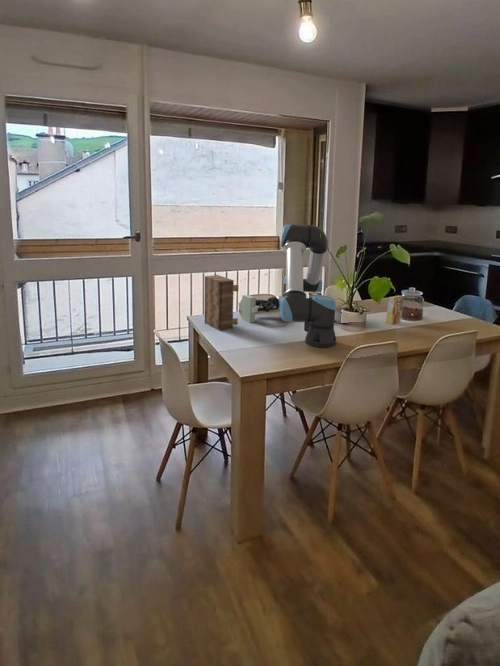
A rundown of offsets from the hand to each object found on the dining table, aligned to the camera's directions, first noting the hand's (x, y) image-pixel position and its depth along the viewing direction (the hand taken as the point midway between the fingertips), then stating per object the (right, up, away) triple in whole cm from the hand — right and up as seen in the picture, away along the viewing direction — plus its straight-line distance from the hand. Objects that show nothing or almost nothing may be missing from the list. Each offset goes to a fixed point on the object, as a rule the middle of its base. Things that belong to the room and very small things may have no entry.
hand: (245, 307), depth 272 cm
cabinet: (-13, -11, -8) cm, 19 cm away
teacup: (+55, -8, +7) cm, 56 cm away
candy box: (+85, -9, +8) cm, 85 cm away
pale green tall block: (+2, -7, +3) cm, 8 cm away
